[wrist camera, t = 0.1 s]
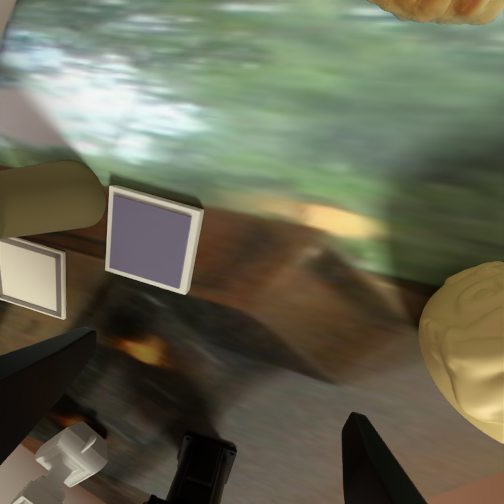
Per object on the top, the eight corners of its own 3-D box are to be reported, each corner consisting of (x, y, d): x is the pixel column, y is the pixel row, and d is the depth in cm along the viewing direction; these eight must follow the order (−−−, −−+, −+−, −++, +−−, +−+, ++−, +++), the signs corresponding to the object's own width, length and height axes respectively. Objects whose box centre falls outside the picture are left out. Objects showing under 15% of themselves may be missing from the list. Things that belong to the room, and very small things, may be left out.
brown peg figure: (35, 197, 24) (-155, 223, 14) (61, 144, 22) (-140, 128, 12) (87, 240, 25) (-58, 294, 15) (117, 192, 23) (-28, 216, 13)
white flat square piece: (66, 318, 29) (62, 320, 28) (0, 297, 29) (-4, 298, 29) (65, 252, 26) (62, 253, 25) (-8, 229, 26) (-12, 230, 26)
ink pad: (189, 289, 25) (184, 296, 24) (112, 266, 25) (103, 271, 24) (204, 209, 22) (198, 212, 21) (117, 184, 23) (107, 186, 21)
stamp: (87, 404, 33) (21, 481, 25) (125, 438, 34) (74, 522, 26) (52, 431, 36) (-17, 507, 28) (88, 461, 37) (32, 543, 29)
